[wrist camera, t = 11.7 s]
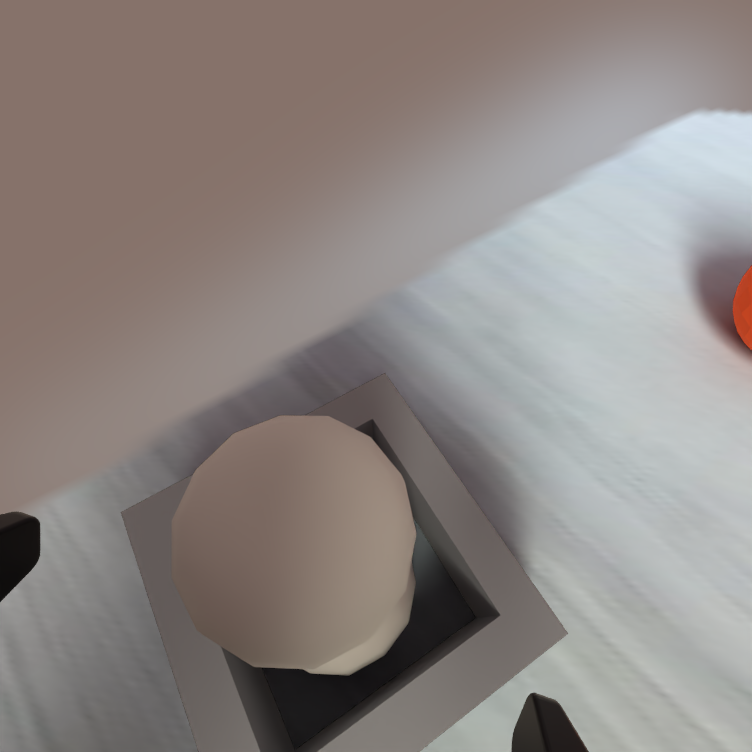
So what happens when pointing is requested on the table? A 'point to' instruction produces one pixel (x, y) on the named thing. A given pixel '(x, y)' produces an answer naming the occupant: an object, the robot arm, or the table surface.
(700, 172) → the table surface
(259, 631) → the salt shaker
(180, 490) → the well block
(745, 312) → the clementine
